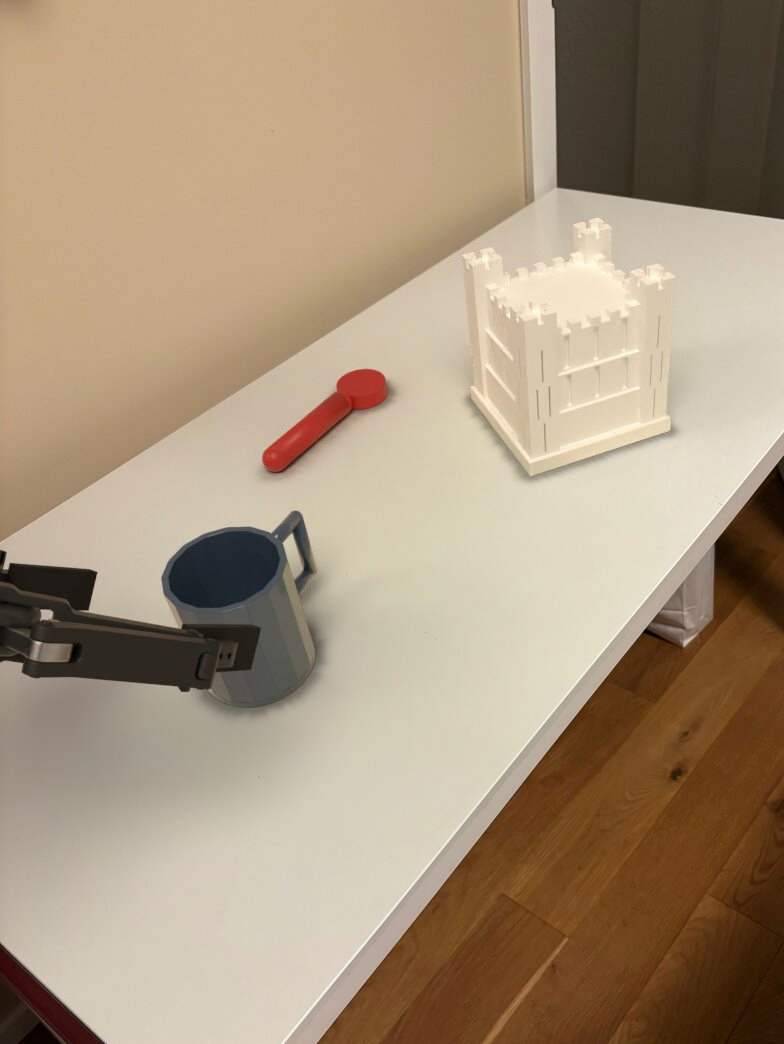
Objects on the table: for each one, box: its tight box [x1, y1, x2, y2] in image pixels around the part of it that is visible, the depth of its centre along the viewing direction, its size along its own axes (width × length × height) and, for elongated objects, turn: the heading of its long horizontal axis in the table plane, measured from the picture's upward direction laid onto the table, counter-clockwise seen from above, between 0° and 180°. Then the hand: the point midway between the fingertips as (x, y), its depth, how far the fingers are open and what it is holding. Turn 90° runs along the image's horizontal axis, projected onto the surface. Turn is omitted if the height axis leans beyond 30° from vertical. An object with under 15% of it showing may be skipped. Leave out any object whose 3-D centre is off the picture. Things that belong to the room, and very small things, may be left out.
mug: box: [160, 509, 318, 708], centre depth 70 cm, size 13×9×10 cm, turn 153°
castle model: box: [461, 217, 677, 477], centre depth 86 cm, size 14×14×15 cm
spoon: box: [261, 368, 388, 473], centre depth 93 cm, size 17×5×2 cm, turn 147°
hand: (167, 617), depth 61 cm, fingers open, 13 cm apart
